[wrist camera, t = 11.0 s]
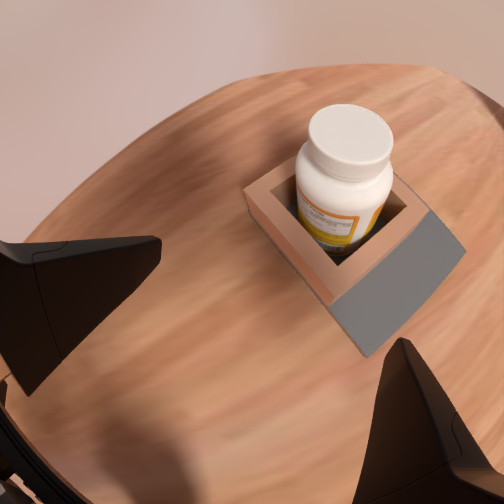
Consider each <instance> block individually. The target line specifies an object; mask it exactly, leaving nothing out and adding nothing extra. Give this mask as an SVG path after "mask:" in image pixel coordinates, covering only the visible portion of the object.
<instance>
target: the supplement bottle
mask: <svg viewBox="0 0 504 504" xmlns="http://www.w3.org/2000/svg"><path fill="white" fill-rule="evenodd" d="M392 148H393V135H392V132H391V130H390V128H389V126H388V125H387V123H386V122H385V121H384V120H383V119H382V118H381V117H380V116H378V115H377V114H375V113H374V112H372V111H370V110H368V109H366V108H363V107H360V106H357V105H351V104H335V105H330V106H327V107H324V108H322V109H321V110H319V111H317V112H316V113H315V114H314V115H313V116H312V118H311V120H310V122H309V125H308V140H307V141H306V142H305V143H304V144H303V146H302V147H301V149H300V150H299V152H298V155H297V158H296V165H295V171H296V186H297V201H298V221H299V223H300V224H301V225H302V227H303V228H304V229H305V230H306V231H307V232H308V233H309V234H310V236H311V237H312V238H313V239H314V240H315V241H316V242H317V243H318V245H319V246H320V247H321V248H322V249H323V250H324V251H325V253H326V254H327V255H328V256H345V255H348V254H351V253H353V252H355V251H356V250H358V249H359V248H360V247H361V246H362V245H363V244H364V242H365V241H366V239H367V237H368V236H369V234H370V232H371V230H372V228H373V226H374V224H375V222H376V220H377V218H378V216H379V214H380V212H381V210H382V208H383V206H384V204H385V202H386V200H387V198H388V195H389V193H390V190H391V187H392V183H393V169H392V165H391V162H390V160H389V158H390V154H391V151H392Z"/></svg>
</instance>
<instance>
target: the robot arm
mask: <svg viewBox="0 0 504 504" xmlns="http://www.w3.org/2000/svg"><path fill="white" fill-rule="evenodd" d="M161 250H162V241H161V239H159V238H157V237H155V236H152V235H150V236H133V237H117V238H102V239H88V240H75V241H70V242H69V241H61V242H44V243H6V242H2V241H0V504H36V503H35V502H34V501H33V499H32V498H31V497H29V496H28V495H26V494H25V493H24V492H23V491H22V489H21V488H20V487H19V486H18V485H17V484H15V483H14V482H13V481H12V480H11V479H10V477H11V476H12V475H13V474H14V473H15V474H16V475H17V476H19V477H20V478H21V479H22V480H23V481H24V482H23V484H24V485H25V486H26V487H27V488H28V489H30V490H31V491H33V493H34V494H35V495H36V496H35V497H36V498H37V499H38V500H39V501H40V502H42V503H43V504H93V503H92V502H91V501H90V500H88V499H87V498H86V497H85V496H84V495H82V494H81V493H80V492H79V491H78V490H77V489H75V488H74V487H73V486H72V485H71V484H70V483H69V482H68V481H67V480H66V479H65V478H63V477H62V476H61V475H60V474H59V473H58V472H57V471H56V470H55V469H54V468H53V467H52V466H51V465H50V464H49V462H48V461H47V460H46V459H45V458H44V457H43V456H42V455H41V454H40V453H39V452H38V450H37V449H36V448H35V447H34V446H33V445H32V443H31V442H30V441H29V440H28V439H27V437H26V436H25V435H24V434H23V432H22V431H21V430H20V428H19V427H18V426H17V424H16V423H15V422H14V420H13V419H12V418H11V416H10V415H9V413H8V412H7V411H6V409H5V400H6V392H7V383H6V382H5V380H4V379H6V378H7V377H8V376H10V375H12V376H13V378H14V379H15V381H16V382H17V383H18V385H19V386H20V388H21V389H22V390H23V392H24V393H25V394H26V395H27V397H29V396H30V395H31V394H32V393H33V392H34V391H35V390H36V389H37V388H38V387H39V386H40V384H41V383H42V382H43V381H44V380H45V379H46V378H47V377H48V376H49V375H50V374H51V373H52V372H53V371H54V369H55V368H56V367H57V366H58V365H59V364H60V363H61V362H62V360H64V359H65V358H66V357H67V356H68V355H69V354H70V353H71V352H72V351H73V350H74V349H75V348H76V347H77V346H78V345H79V344H80V343H81V342H82V341H83V340H84V339H85V338H86V337H87V336H88V335H89V334H90V333H91V332H92V331H93V330H94V329H95V328H96V327H97V326H98V325H99V324H100V323H101V322H102V321H103V320H104V319H105V318H106V317H107V316H108V315H109V314H110V313H112V312H113V311H114V310H115V309H116V308H117V307H118V306H119V305H120V304H121V303H122V302H123V301H124V300H125V299H126V298H128V297H129V296H130V295H131V294H132V293H133V292H134V291H135V290H136V289H137V288H138V287H139V286H140V285H141V283H142V282H143V281H144V280H145V279H146V278H147V277H148V276H149V274H150V273H151V272H152V271H153V270H154V269H155V268H156V267H157V266H158V264H159V263H160V260H161ZM352 504H504V475H502V474H500V473H498V472H497V471H496V470H495V469H494V468H493V467H492V466H491V464H490V463H489V461H488V460H487V458H486V457H485V455H484V453H483V452H482V450H481V449H480V447H479V446H478V444H477V443H476V441H475V440H474V438H473V437H472V435H471V433H470V432H469V430H468V429H467V427H466V425H465V424H464V422H463V421H462V419H461V417H460V416H459V414H458V412H457V411H456V409H455V407H454V406H453V404H452V402H451V401H450V399H449V398H448V396H447V394H446V393H445V391H444V390H443V388H442V387H441V385H440V384H439V382H438V381H437V379H436V377H435V376H434V374H433V373H432V371H431V370H430V369H429V367H428V366H427V364H426V363H425V361H424V360H423V358H422V357H421V355H420V354H419V353H418V351H417V350H416V348H415V347H414V345H413V344H412V343H411V341H410V340H408V339H405V338H402V337H400V338H398V339H397V340H396V342H395V343H394V344H393V346H392V347H391V349H390V350H389V352H388V353H387V355H386V356H385V359H384V363H383V368H382V373H381V377H380V381H379V386H378V390H377V394H376V399H375V405H374V412H373V418H372V424H371V429H370V435H369V440H368V445H367V449H366V454H365V458H364V462H363V466H362V470H361V474H360V478H359V482H358V485H357V489H356V492H355V495H354V499H353V502H352Z"/></svg>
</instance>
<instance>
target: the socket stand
mask: <svg viewBox="0 0 504 504" xmlns="http://www.w3.org/2000/svg"><path fill="white" fill-rule="evenodd" d="M297 155H298V154H296V155H295V156H293V157H292V158H290V159H288V160H287V161H285V162H284V163H282V164H281V165H279V166H277V167H276V168H274V169H273V170H271V171H270V172H268V173H267V174H265V175H264V176H262V177H261V178H259V179H258V180H256V181H255V182H253V183H252V184H250V185H249V186H247V187H246V188H244V189H243V191H244V194H245V197H246V199H247V202H248V205H249V208H250V209H248V211H249V214H250V216H251V217H252V219H253V220H254V221H255V222H256V223H257V225H258V226H259V227H260V228H261V229H262V231H263V232H264V233H265V234H266V235H267V237H268V238H269V239H270V240H271V241H272V243H273V244H274V245H275V246H276V247H277V249H278V250H279V251H280V252H281V253H282V255H283V256H284V257H285V258H286V260H287V261H288V262H289V263H290V264H291V266H292V267H293V268H294V269H295V271H296V272H297V273H298V274H299V276H300V277H301V278H302V279H303V280H304V282H305V283H306V284H307V285H308V287H309V288H310V289H311V290H312V292H313V293H314V294H315V295H316V297H317V298H318V299H319V300H320V302H321V303H322V304H323V305H324V307H325V308H326V309H327V310H328V312H329V313H330V314H331V315H332V317H333V318H334V319H335V320H336V322H337V323H338V324H339V325H340V327H341V328H342V329H343V331H344V332H345V333H346V334H347V336H348V337H349V338H350V339H351V341H352V342H353V343H354V345H355V346H356V347H357V348H358V350H359V351H360V352H361V354H362V355H363V356H364V357H366V358H368V357H369V356H370V355H371V354H373V353H374V352H375V351H376V350H377V349H378V348H379V347H380V346H381V345H383V344H384V343H385V342H386V341H387V340H388V339H389V338H390V337H391V336H392V335H393V334H394V333H395V332H396V331H397V330H398V329H399V328H400V327H401V326H402V325H403V324H404V323H405V322H406V321H407V320H408V319H409V318H410V317H411V316H412V315H413V314H414V313H415V312H416V311H417V310H418V309H419V308H420V307H421V306H422V305H423V304H424V302H425V301H426V300H427V299H428V298H429V297H430V296H431V295H432V294H433V292H434V291H435V290H436V289H437V288H438V287H439V285H440V284H441V283H442V282H443V281H444V280H445V278H446V277H447V276H448V275H449V273H450V272H451V271H452V270H453V268H454V267H455V266H456V265H457V263H458V262H459V261H460V259H461V258H462V257H463V255H464V254H465V253H466V250H465V249H464V247H463V246H462V245H461V244H460V242H459V241H458V240H457V239H456V237H455V236H454V235H453V234H452V233H451V231H450V230H449V229H448V228H447V227H446V226H445V224H444V223H443V222H442V221H441V220H440V219H439V218H438V216H437V215H436V214H435V213H434V212H433V211H432V210H431V209H430V208H429V207H428V206H427V204H426V203H425V202H424V201H423V200H422V199H421V198H420V197H419V196H418V195H417V194H416V193H415V192H414V191H413V190H412V189H411V188H410V187H409V186H408V185H407V184H406V183H405V182H404V181H403V180H402V179H401V178H399V177H398V176H397V175H396V174H395V173H394V172H393V183H392V187H391V190H390V193H389V195H388V198H387V200H386V202H385V204H384V206H383V208H382V210H381V212H380V214H379V216H378V218H377V220H376V222H375V224H374V226H373V228H372V230H371V232H370V234H369V236H368V237H367V239H366V241H365V242H364V244H363V245H362V246H361V247H360V248H359V249H358V250H356V251H355V252H353V253H351V254H348V255H345V256H328V255H327V254H326V253H325V251H324V250H323V249H322V248H321V247H320V246H319V245H318V243H317V242H316V241H315V240H314V239H313V238H312V237H311V236H310V234H309V233H308V232H307V231H306V230H305V229H304V228H303V227H302V225H301V224H300V223H299V221H298V201H297V186H296V171H295V165H296V158H297Z"/></svg>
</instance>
